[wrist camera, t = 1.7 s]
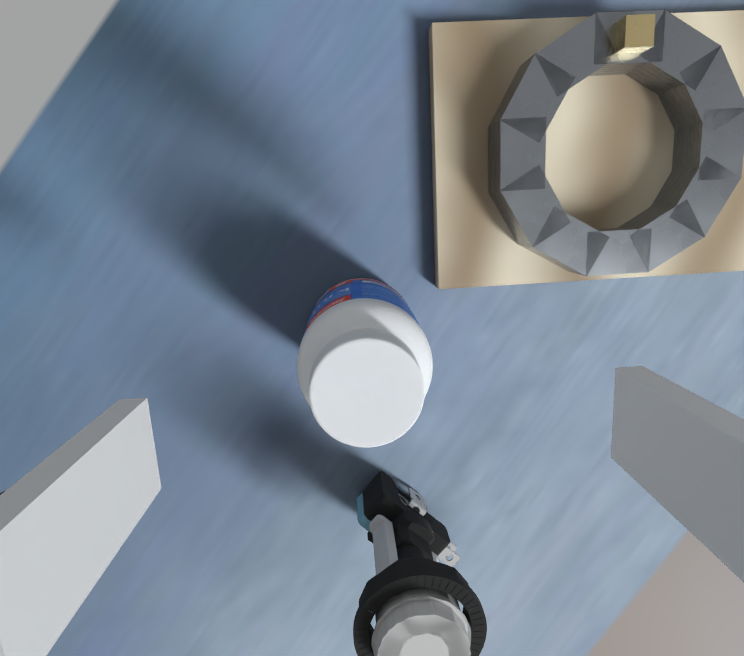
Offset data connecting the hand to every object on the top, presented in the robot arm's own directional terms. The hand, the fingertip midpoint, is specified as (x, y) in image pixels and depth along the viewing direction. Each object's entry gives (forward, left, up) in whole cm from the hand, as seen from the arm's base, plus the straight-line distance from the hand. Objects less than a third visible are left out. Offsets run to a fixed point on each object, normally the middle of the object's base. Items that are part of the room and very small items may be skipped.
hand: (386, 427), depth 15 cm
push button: (+2, -11, -13) cm, 17 cm away
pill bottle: (0, 0, -13) cm, 13 cm away
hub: (+12, +8, -13) cm, 19 cm away
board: (+12, +8, -13) cm, 19 cm away
